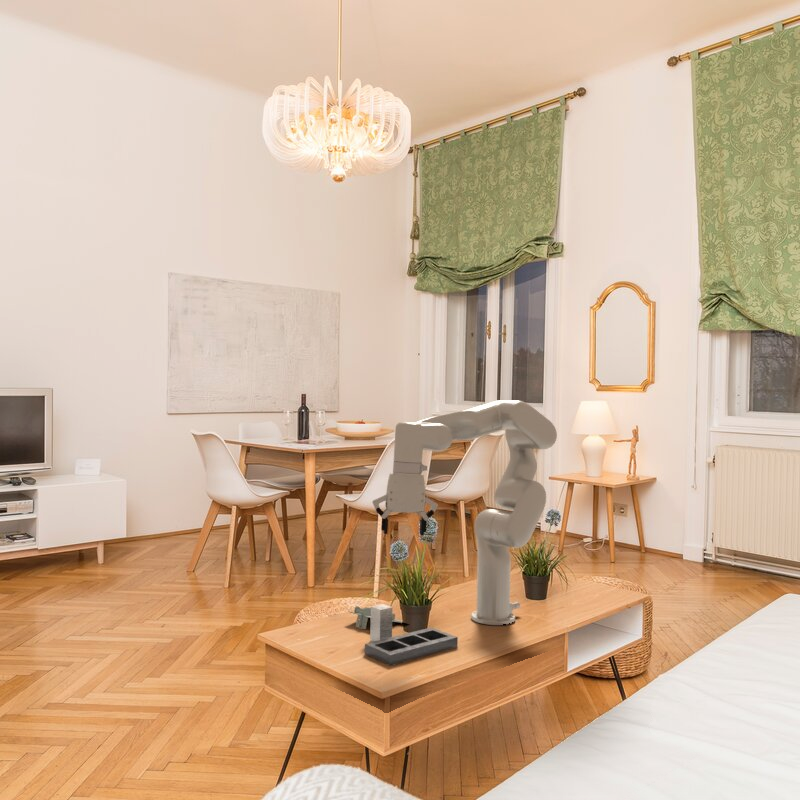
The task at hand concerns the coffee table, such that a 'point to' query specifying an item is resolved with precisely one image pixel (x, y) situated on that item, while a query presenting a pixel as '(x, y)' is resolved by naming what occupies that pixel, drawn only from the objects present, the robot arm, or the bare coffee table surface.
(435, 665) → the coffee table surface
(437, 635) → the compartment tray
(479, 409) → the robot arm
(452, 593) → the coffee table surface
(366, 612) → the metal bracket
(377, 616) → the steel peg
